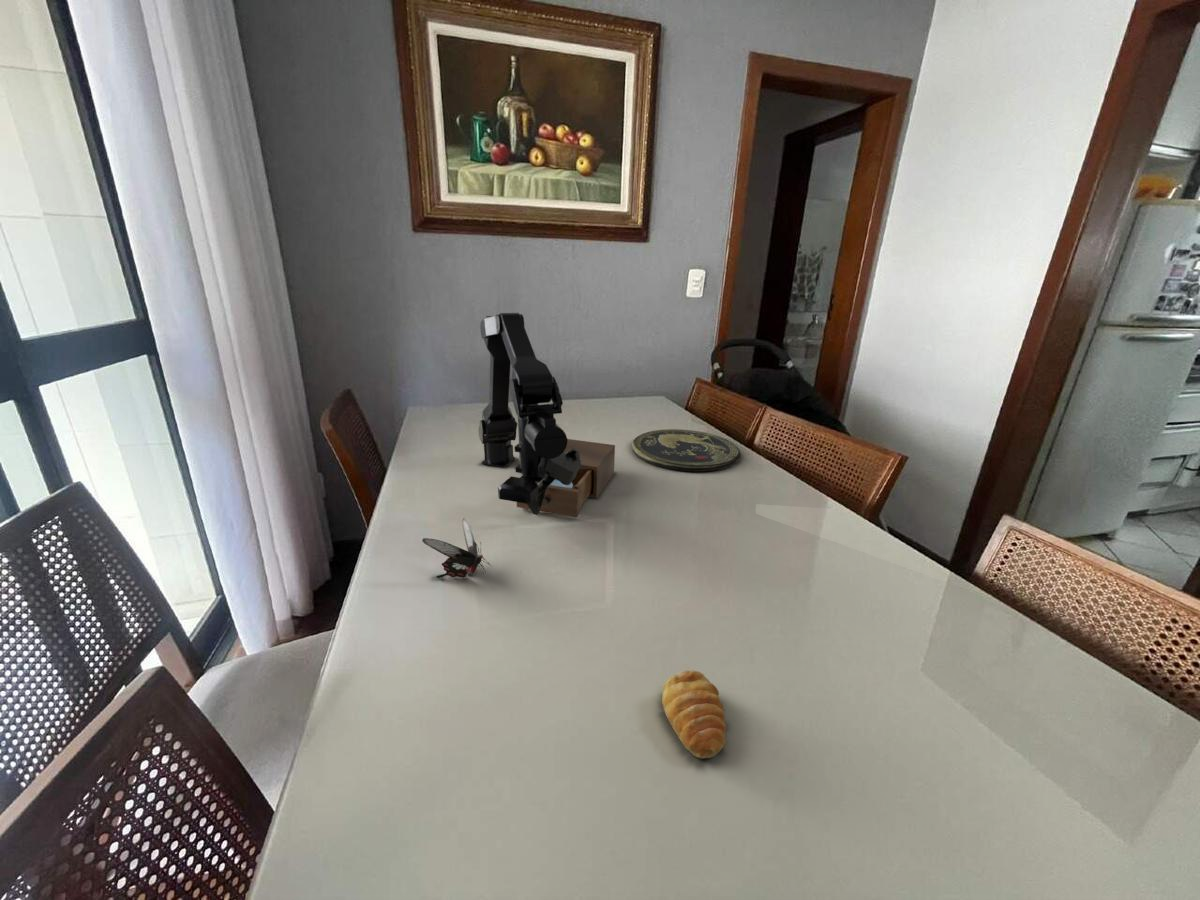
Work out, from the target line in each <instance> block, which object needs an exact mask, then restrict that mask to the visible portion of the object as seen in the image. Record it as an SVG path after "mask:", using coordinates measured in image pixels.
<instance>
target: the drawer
mask: <svg viewBox="0 0 1200 900" xmlns="http://www.w3.org/2000/svg"><path fill="white" fill-rule="evenodd" d="M593 483H594V470H591V469H584V468H579V470H578V472H577V475H576V477H575V479H574V480H573V481H572V484H573V488H567V487H560V486H554V485H549V486H548V487H547V489H546V492H545V495H544V499H543V502H542V506H541V509H540V512H543V513H549V514H555V515H560V516H565V517H571V518H578V517H579V516H580V508H581V507H582V506H583V504H584V503H585V502H586V500H587V498H589V497H588V496H589V495H590V493H591V492H592V491H593ZM516 508H521V509H526V510H530V509H529V507H528V505H527V504H525V503H519V502H516Z"/></svg>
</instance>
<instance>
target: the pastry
mask: <svg viewBox="0 0 1200 900" xmlns="http://www.w3.org/2000/svg"><path fill="white" fill-rule="evenodd" d="M719 695H720V693H719V690H718V688H717V687H716V685H715V684H714V683H712V682H711V681H710V680H709V679H708V678H707V677H706V676H705V674H704V673H703V672H701V671H698V670H683V671H681V672H680V673H677V674H674V675H672V676H671V677H670V678H668V680H667V681H666V682H665V683H664V684H663V686H662V696H661V697H662V698H661V703H662V708H663V710H664V713H665V716H666V718H667V720H668V721H669V723H670V725H671V727H672V729H673V731H674V732H675V734H676V735H677V738H678V739H679V740H680V742H681V743H682V745H683V746H684V748H685V749H686V751H689V753H690V754H691V755H693V756H694V757H696V758H698V759H710V758H713V757H715V756H716V755H718V754H719V753H720V751H721V750H722V749H723V748H724V747H725V745H726V742H727V741H726V740H727V739H726V732H727V731H726V730H727V725H726V721H725V720H726V719H725V707H724V705H723V703H722V701H721V699H720V697H719Z"/></svg>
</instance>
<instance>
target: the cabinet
mask: <svg viewBox="0 0 1200 900" xmlns="http://www.w3.org/2000/svg"><path fill="white" fill-rule="evenodd" d="M572 448H573V449H575V450H577V451H579V456H580V460H581V467H580V468H584V469H591V470H594V483H593V491H592V492H591V493H590V495H589V496H588V497H587V498H592V499H597V498H598V497H599V496H600V494H601V493H602V491H603V490H604V488H606V485H608V483H609V481H610V480H611V478H612V477H613V476H614V474H615V460H616V459H615V456H616V455H615V454H616V444H609V443H604V442H603V443H602V442H595V441H586V440H579V439H571V438H567V446H566V449H565V450H564V452H565V453H564V454H566V453H567V452H568V451H570V450H571V449H572Z"/></svg>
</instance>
